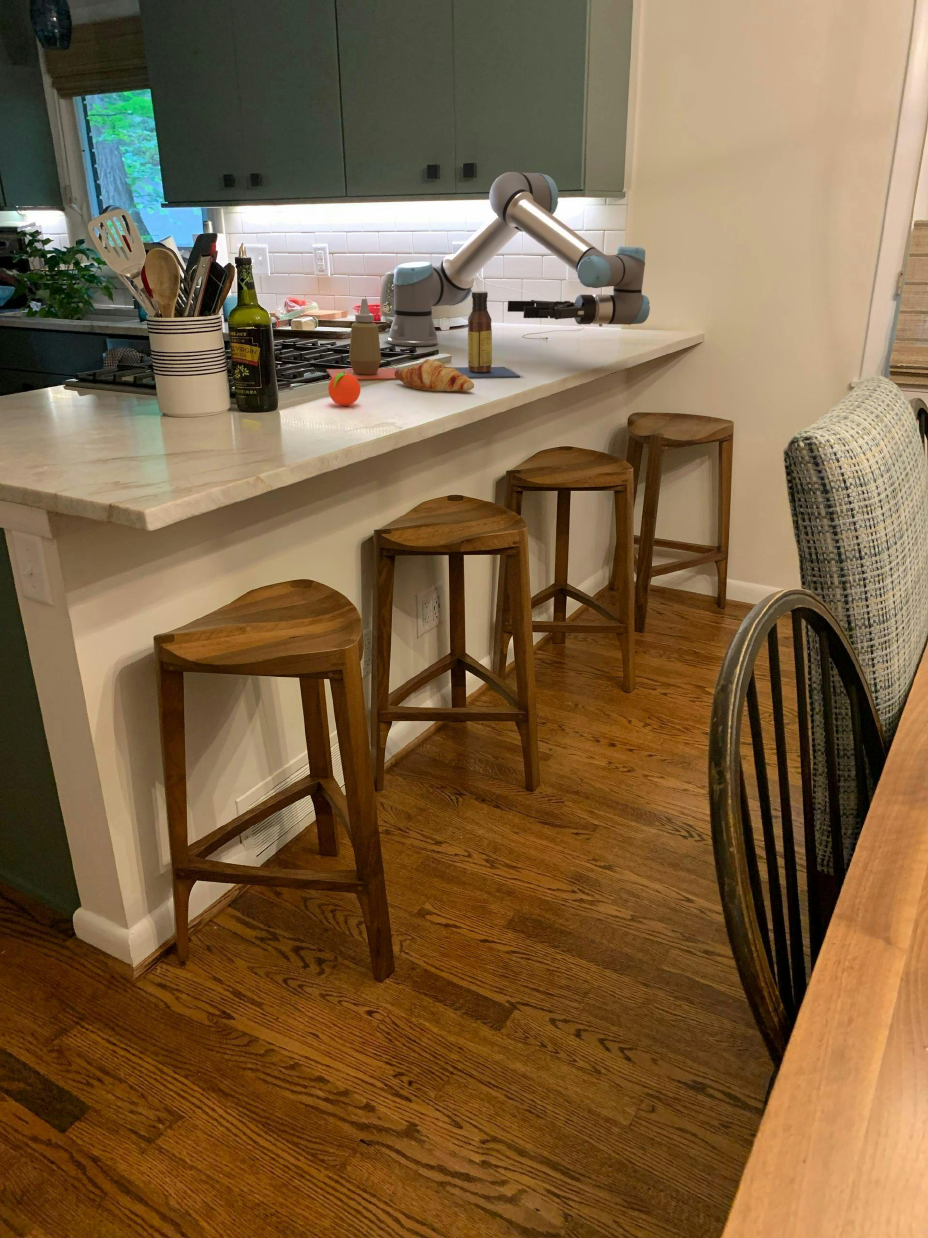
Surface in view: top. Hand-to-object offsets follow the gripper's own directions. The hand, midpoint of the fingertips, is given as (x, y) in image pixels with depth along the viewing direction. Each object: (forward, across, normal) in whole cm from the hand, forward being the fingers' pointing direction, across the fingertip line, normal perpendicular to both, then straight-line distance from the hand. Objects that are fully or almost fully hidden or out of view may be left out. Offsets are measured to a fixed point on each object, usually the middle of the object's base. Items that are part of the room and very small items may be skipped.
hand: (515, 309), depth 242 cm
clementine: (+51, -39, -16) cm, 66 cm away
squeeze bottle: (+40, -2, -16) cm, 43 cm away
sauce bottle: (+10, -2, -16) cm, 19 cm away
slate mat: (+10, -2, -16) cm, 19 cm away
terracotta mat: (+40, -2, -16) cm, 43 cm away
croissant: (+27, -22, -16) cm, 38 cm away
